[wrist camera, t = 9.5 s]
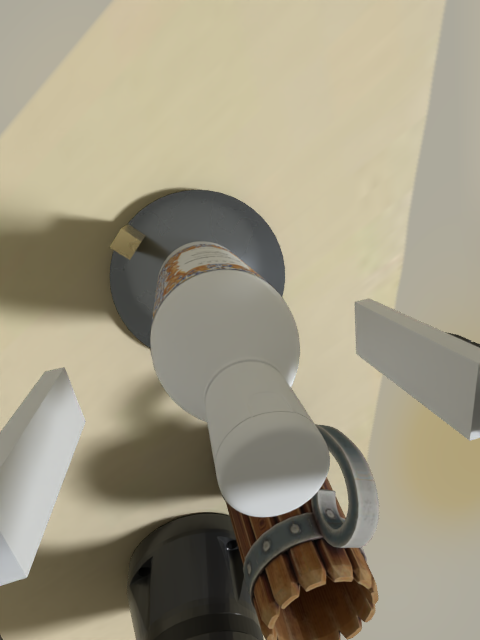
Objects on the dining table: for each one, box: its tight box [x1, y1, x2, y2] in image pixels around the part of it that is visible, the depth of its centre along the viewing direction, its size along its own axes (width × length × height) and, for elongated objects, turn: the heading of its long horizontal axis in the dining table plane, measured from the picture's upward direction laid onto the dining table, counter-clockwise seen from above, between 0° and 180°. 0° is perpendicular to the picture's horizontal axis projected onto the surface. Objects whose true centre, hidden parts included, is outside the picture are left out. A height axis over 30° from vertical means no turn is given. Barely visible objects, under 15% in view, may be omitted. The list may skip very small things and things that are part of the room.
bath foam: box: [150, 241, 330, 517], centre depth 17 cm, size 7×7×20 cm
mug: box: [222, 424, 379, 640], centre depth 28 cm, size 16×11×15 cm
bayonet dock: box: [110, 190, 285, 348], centre depth 25 cm, size 14×14×5 cm
